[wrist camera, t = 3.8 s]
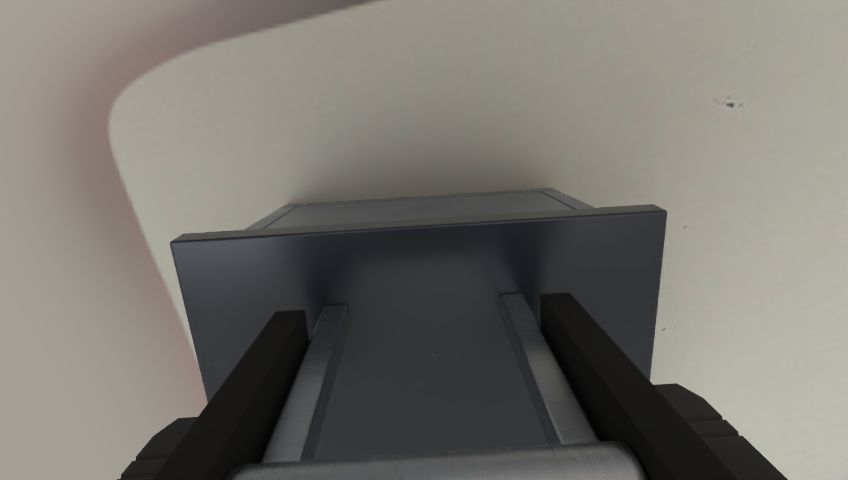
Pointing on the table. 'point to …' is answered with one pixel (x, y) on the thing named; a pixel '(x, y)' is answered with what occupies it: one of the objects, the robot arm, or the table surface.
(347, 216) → the blue box
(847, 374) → the table surface
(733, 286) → the table surface
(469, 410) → the box lid
